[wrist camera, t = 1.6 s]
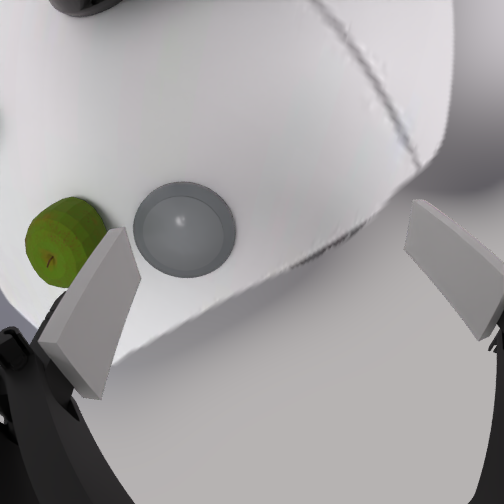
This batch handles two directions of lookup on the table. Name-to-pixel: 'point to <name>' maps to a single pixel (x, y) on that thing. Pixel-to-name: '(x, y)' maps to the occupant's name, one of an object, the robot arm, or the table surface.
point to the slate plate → (184, 230)
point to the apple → (63, 240)
